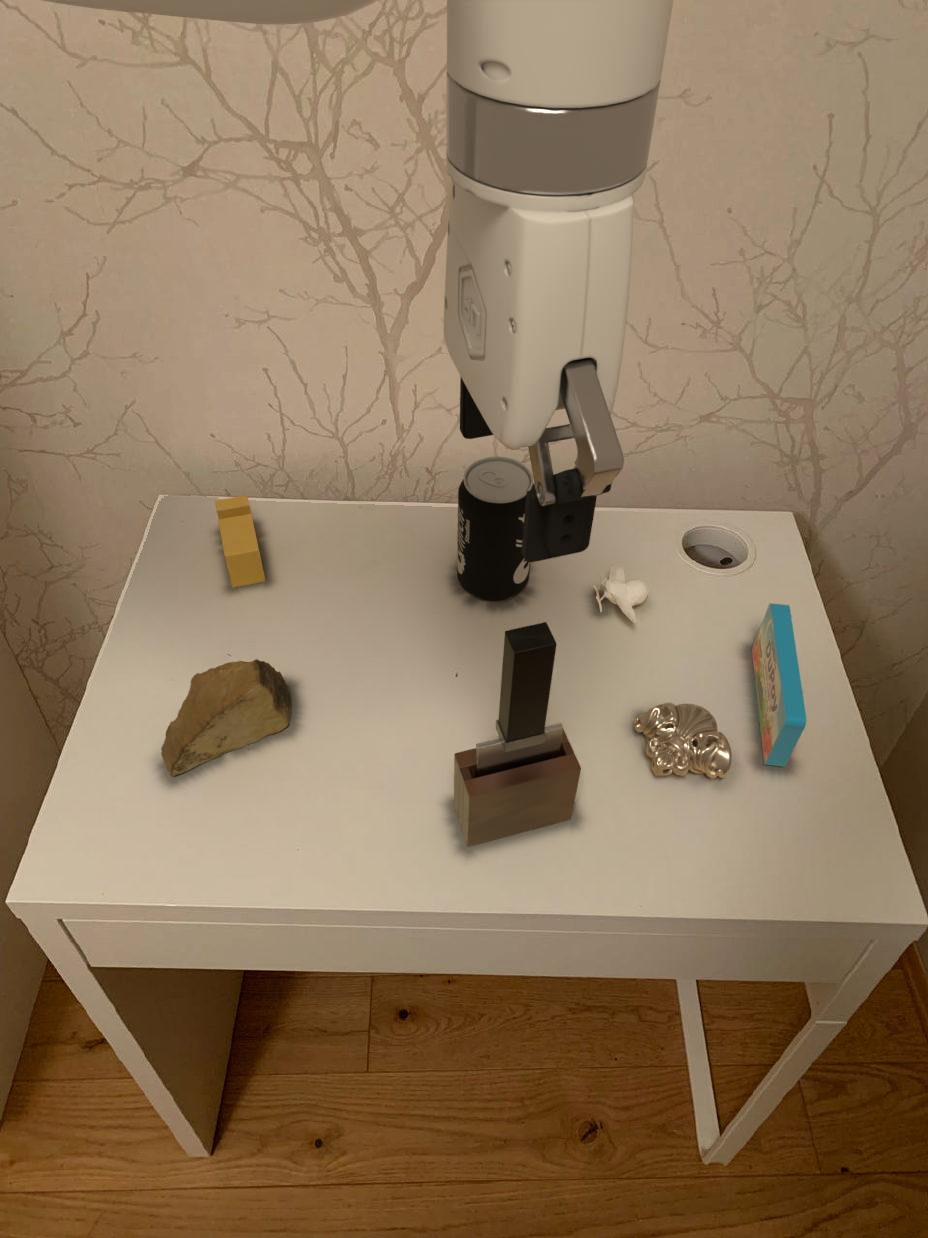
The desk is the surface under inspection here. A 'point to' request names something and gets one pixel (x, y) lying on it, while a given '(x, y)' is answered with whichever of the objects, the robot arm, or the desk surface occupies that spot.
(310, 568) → the desk surface
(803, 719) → the blue product box
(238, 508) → the butter slice
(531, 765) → the knife block
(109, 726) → the desk surface
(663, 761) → the ornament
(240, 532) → the butter block
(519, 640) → the knife
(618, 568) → the toy bird
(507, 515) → the beverage can
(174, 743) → the rock
